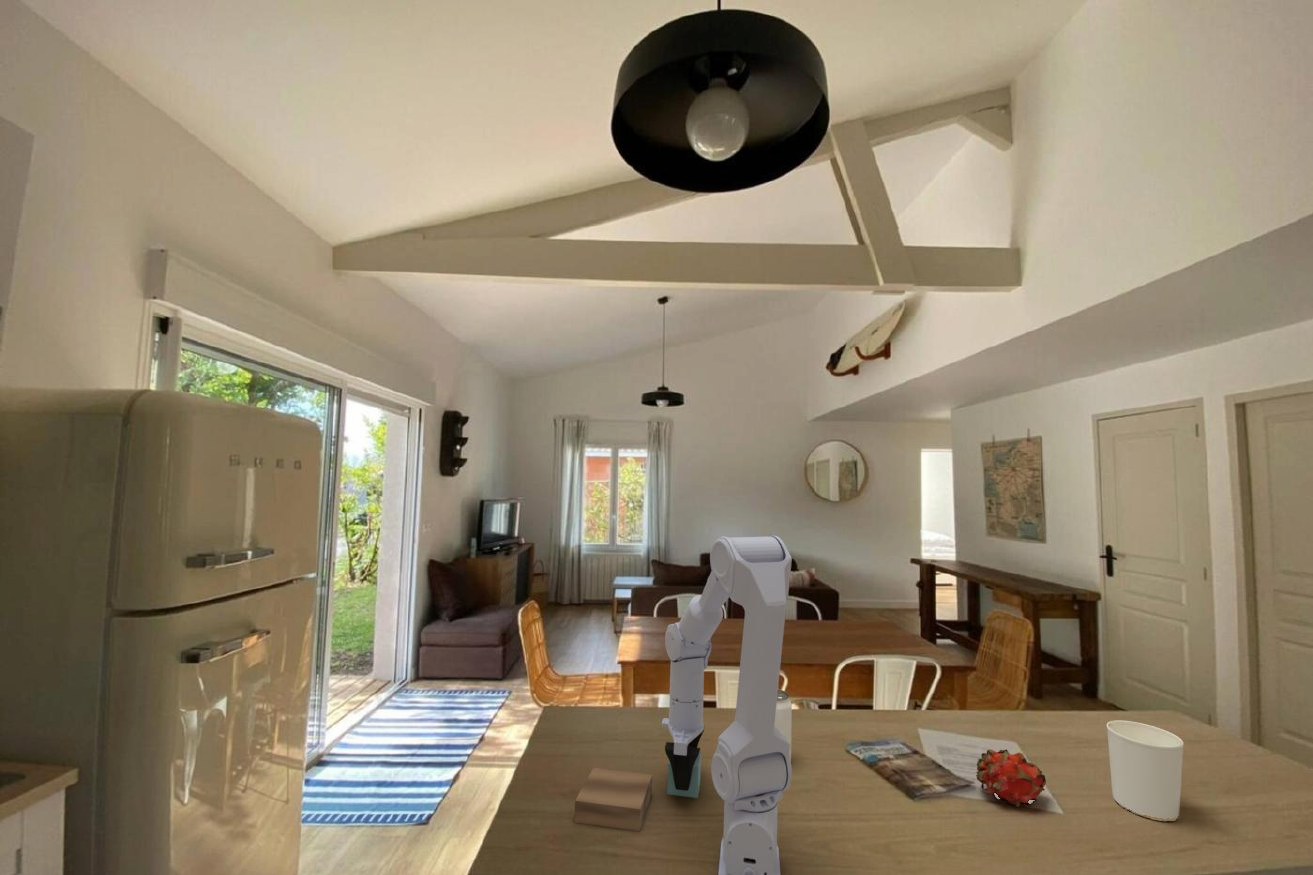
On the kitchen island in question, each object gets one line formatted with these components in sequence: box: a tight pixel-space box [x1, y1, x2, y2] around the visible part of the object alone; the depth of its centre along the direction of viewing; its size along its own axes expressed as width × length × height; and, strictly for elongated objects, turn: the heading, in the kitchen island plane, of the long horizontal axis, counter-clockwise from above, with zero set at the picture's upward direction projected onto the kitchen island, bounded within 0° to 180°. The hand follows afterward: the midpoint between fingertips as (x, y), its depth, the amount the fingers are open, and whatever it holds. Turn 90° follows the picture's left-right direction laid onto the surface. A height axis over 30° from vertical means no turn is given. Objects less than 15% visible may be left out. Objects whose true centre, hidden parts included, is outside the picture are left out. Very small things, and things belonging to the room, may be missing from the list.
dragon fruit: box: [975, 748, 1047, 808], centre depth 97 cm, size 8×8×12 cm
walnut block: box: [573, 767, 653, 832], centre depth 91 cm, size 10×10×4 cm
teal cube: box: [666, 752, 702, 799], centre depth 98 cm, size 5×5×5 cm
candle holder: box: [1106, 719, 1185, 819], centre depth 96 cm, size 10×10×12 cm
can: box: [774, 688, 793, 762], centre depth 108 cm, size 6×6×12 cm
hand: (684, 779), depth 97 cm, fingers open, 6 cm apart
